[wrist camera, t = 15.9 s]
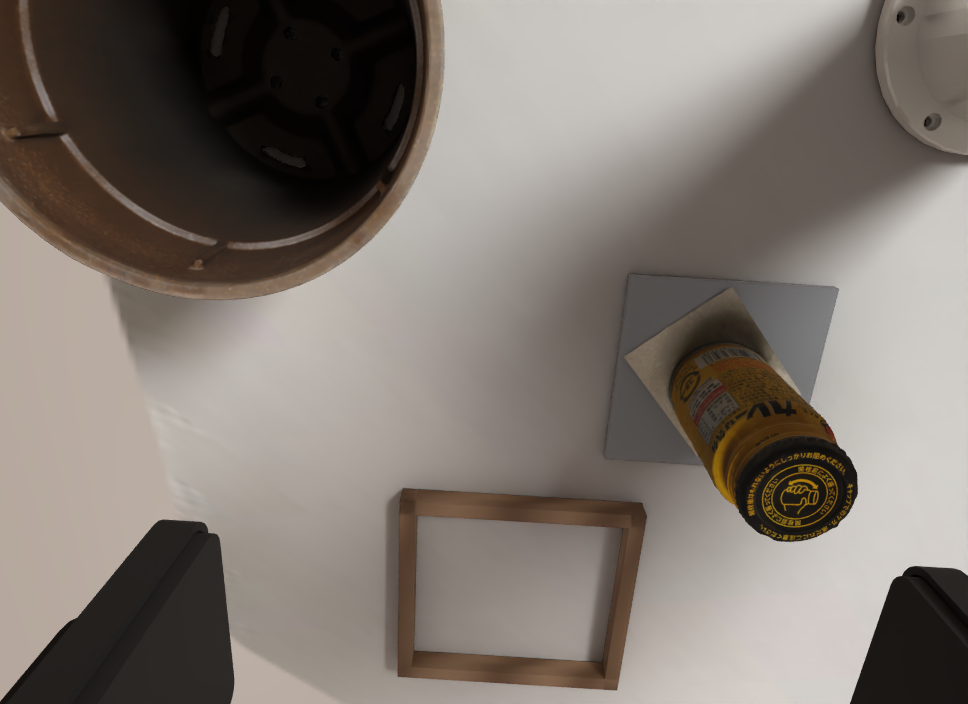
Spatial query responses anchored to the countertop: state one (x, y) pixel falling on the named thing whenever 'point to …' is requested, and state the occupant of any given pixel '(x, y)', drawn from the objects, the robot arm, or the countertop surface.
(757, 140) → the countertop surface
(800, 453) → the condiment
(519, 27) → the countertop surface
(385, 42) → the plant pot
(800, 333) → the mat
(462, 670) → the wooden square frame
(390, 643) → the countertop surface
